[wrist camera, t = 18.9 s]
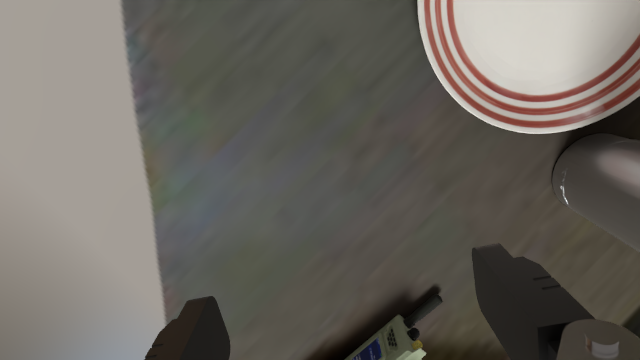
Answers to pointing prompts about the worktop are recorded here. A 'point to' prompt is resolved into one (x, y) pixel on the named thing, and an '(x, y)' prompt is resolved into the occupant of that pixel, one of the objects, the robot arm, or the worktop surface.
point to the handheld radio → (397, 337)
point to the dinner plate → (535, 59)
